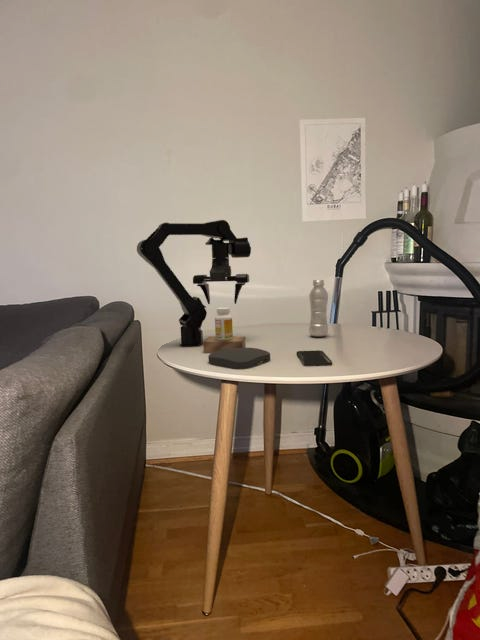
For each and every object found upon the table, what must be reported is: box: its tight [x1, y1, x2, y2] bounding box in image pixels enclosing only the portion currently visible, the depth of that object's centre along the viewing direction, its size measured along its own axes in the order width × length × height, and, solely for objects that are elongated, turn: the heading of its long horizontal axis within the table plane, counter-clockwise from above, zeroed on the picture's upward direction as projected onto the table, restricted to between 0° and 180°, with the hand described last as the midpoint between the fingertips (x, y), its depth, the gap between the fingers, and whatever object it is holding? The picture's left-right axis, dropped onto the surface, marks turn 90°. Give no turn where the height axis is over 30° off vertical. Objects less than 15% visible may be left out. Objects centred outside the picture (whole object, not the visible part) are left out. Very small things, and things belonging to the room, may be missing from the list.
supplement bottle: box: [214, 307, 234, 340], centre depth 134 cm, size 5×5×10 cm
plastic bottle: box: [308, 279, 329, 338], centre depth 151 cm, size 6×7×20 cm
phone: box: [296, 350, 333, 367], centre depth 120 cm, size 8×1×15 cm
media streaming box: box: [208, 347, 271, 370], centre depth 121 cm, size 15×15×3 cm
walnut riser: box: [202, 335, 247, 354], centre depth 135 cm, size 12×8×4 cm, turn 82°
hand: (222, 304), depth 148 cm, fingers open, 9 cm apart
